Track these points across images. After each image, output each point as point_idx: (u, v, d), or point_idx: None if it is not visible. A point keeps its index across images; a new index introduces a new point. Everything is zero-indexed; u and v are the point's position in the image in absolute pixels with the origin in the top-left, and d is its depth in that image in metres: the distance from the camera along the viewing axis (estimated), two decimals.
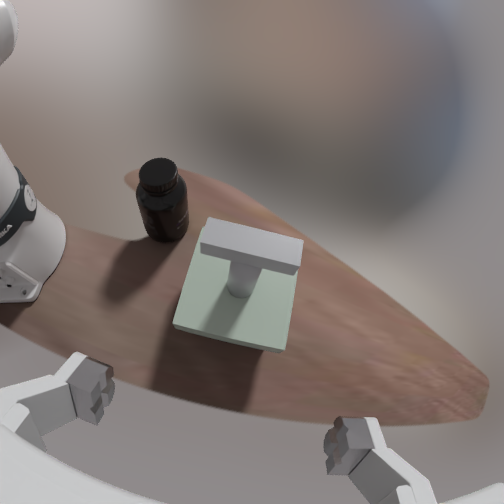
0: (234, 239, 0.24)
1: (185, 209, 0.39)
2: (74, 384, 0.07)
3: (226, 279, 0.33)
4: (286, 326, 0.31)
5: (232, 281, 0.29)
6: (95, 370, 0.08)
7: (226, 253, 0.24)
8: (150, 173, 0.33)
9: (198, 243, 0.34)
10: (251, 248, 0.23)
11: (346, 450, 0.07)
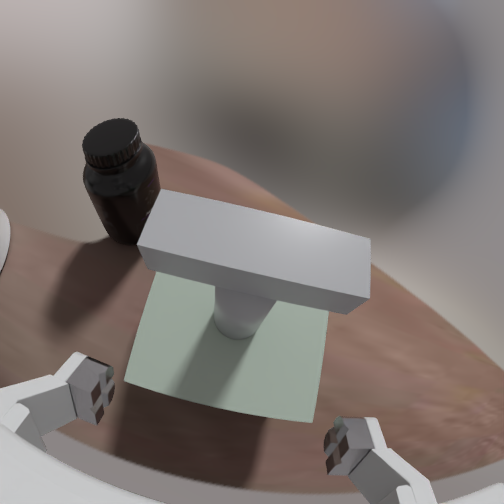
0: (217, 237, 0.10)
1: (155, 195, 0.25)
2: (74, 384, 0.07)
3: (213, 307, 0.19)
4: (315, 384, 0.17)
5: (221, 317, 0.15)
6: (95, 370, 0.08)
7: (198, 269, 0.10)
8: (98, 139, 0.20)
9: None
10: (258, 259, 0.10)
11: (346, 450, 0.07)
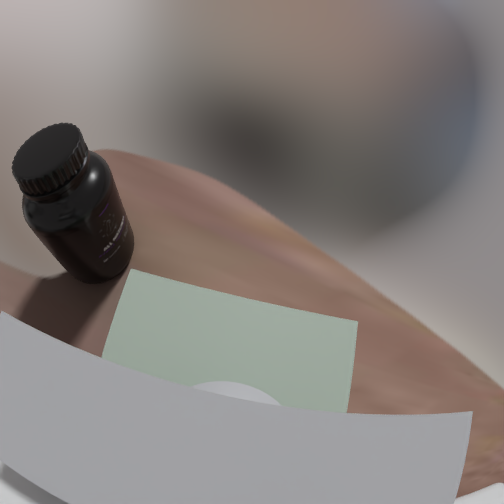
0: (115, 469, 0.03)
1: (113, 225, 0.18)
2: None
3: None
4: None
5: None
6: None
7: None
8: (30, 155, 0.12)
9: (119, 310, 0.13)
10: None
11: None
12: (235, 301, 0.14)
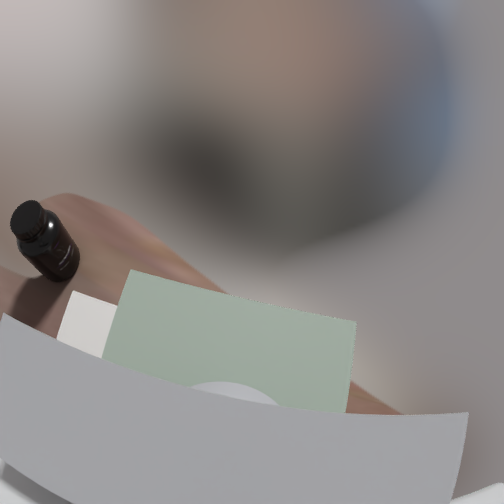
0: (115, 468, 0.03)
1: (63, 251, 0.32)
2: None
3: None
4: None
5: None
6: None
7: None
8: (18, 219, 0.26)
9: (119, 310, 0.13)
10: None
11: None
12: (234, 302, 0.14)
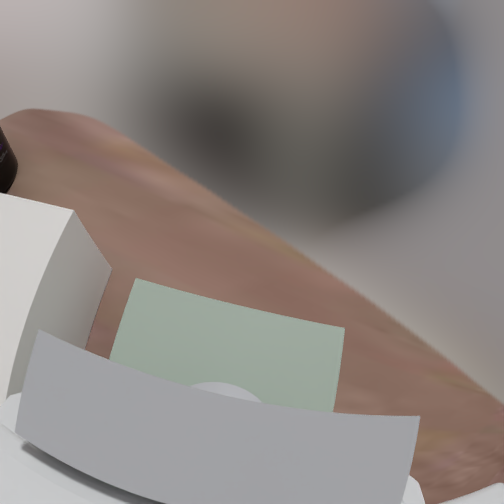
0: (132, 447, 0.04)
1: None
2: None
3: None
4: None
5: None
6: None
7: None
8: None
9: (125, 316, 0.15)
10: (208, 491, 0.04)
11: None
12: (231, 309, 0.16)
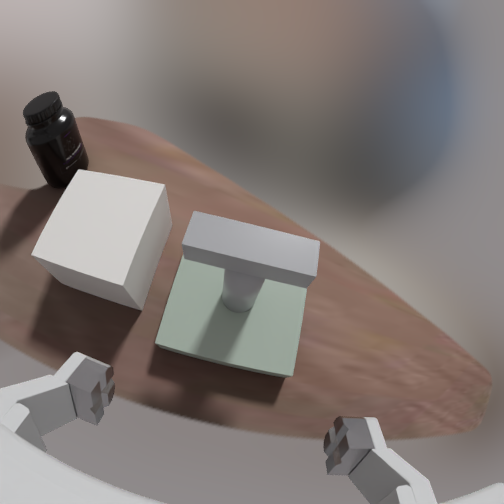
0: (228, 240, 0.17)
1: (73, 145, 0.29)
2: (74, 384, 0.07)
3: (221, 289, 0.27)
4: (294, 347, 0.25)
5: (227, 293, 0.23)
6: (95, 370, 0.08)
7: (217, 258, 0.18)
8: (33, 106, 0.23)
9: None
10: (251, 252, 0.17)
11: (346, 450, 0.07)
12: None
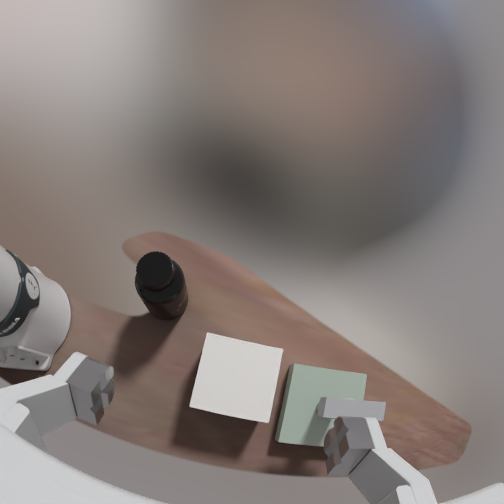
0: (345, 411, 0.29)
1: (184, 295, 0.40)
2: (74, 384, 0.07)
3: (315, 405, 0.38)
4: None
5: None
6: (95, 370, 0.08)
7: None
8: (147, 271, 0.34)
9: (292, 378, 0.40)
10: (355, 415, 0.29)
11: (346, 450, 0.07)
12: (329, 371, 0.41)
